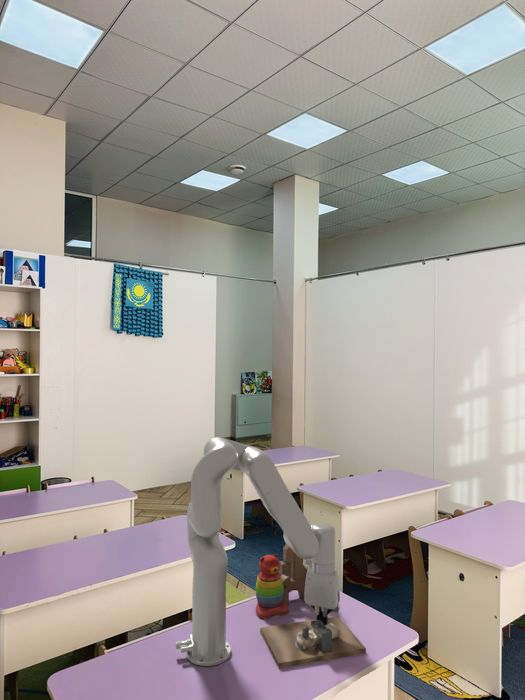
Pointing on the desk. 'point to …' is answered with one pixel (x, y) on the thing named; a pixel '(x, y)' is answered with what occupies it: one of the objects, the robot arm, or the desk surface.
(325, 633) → the keeper
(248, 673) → the desk surface
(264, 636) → the base board
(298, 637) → the link
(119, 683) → the desk surface
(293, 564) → the wooden toy
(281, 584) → the stacking bear
